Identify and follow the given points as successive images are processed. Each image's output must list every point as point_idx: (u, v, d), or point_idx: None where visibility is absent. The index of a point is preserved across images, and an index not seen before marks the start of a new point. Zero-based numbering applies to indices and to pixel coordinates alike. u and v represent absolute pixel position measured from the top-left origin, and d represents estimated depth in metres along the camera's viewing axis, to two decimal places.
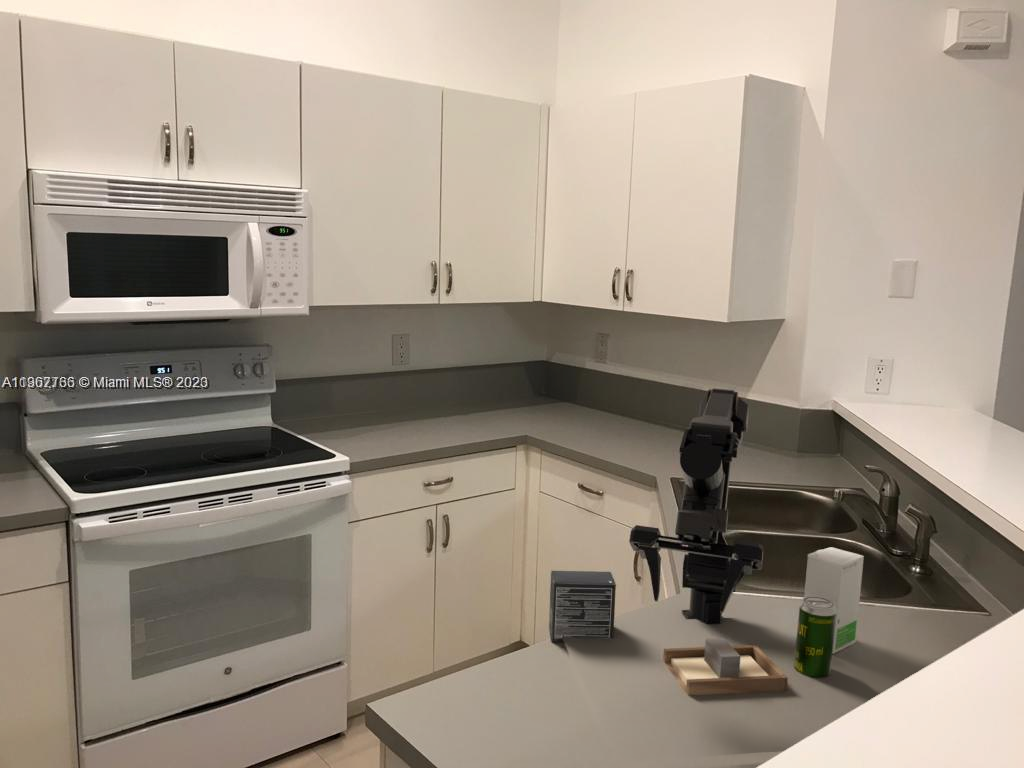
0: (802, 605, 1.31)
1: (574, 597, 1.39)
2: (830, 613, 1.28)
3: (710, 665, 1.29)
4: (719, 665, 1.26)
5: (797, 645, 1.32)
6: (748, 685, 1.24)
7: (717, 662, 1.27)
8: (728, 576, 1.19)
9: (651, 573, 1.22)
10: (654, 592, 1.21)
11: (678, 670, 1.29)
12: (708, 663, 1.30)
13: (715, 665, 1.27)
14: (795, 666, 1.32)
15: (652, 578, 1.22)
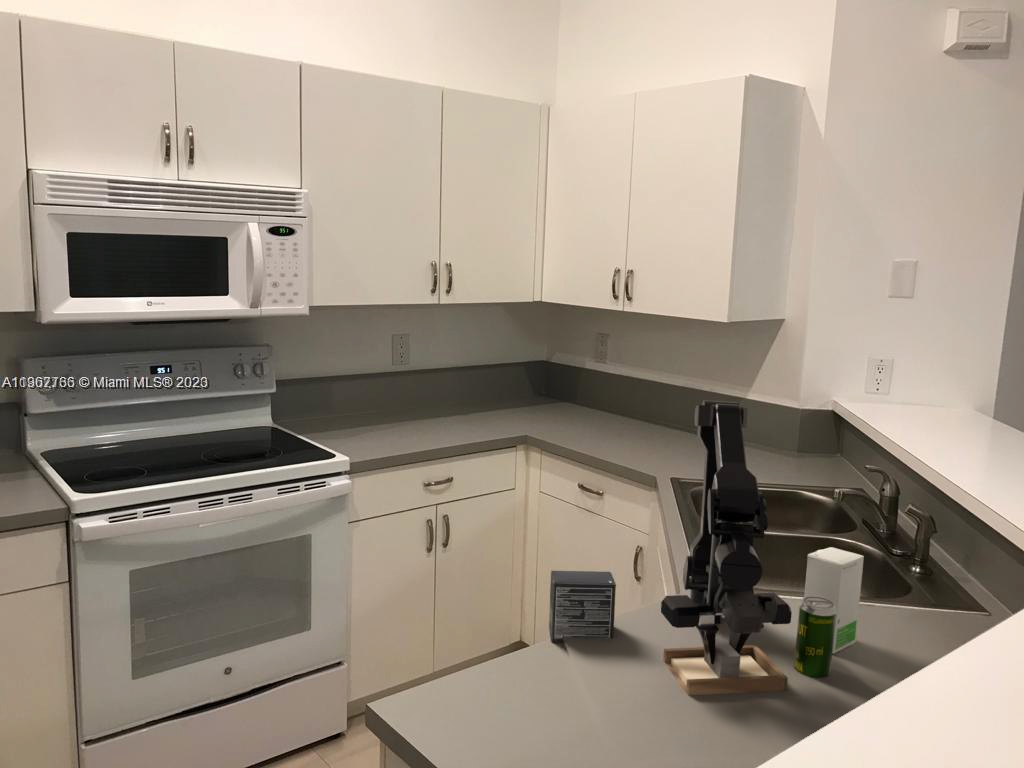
0: (802, 605, 1.31)
1: (574, 597, 1.39)
2: (830, 613, 1.28)
3: (710, 665, 1.29)
4: (719, 665, 1.26)
5: (797, 645, 1.32)
6: (748, 685, 1.24)
7: (717, 662, 1.27)
8: (741, 636, 1.27)
9: (709, 644, 1.27)
10: (711, 659, 1.28)
11: (678, 670, 1.29)
12: (708, 663, 1.30)
13: (715, 665, 1.27)
14: (795, 666, 1.32)
15: (710, 648, 1.27)
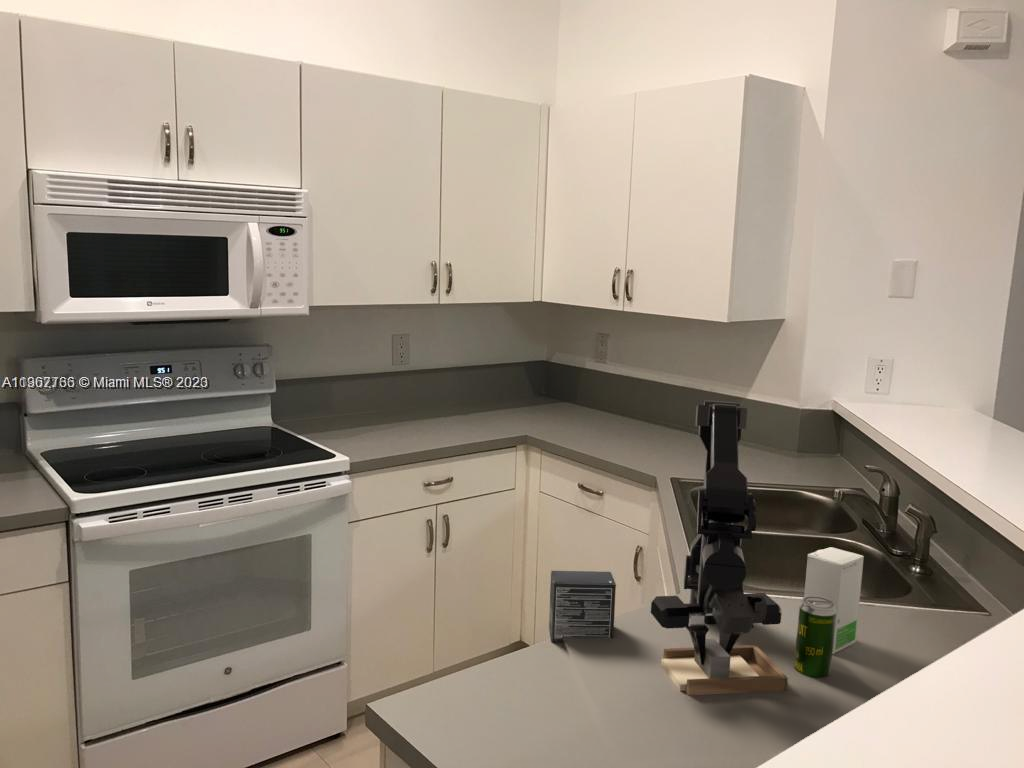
0: (802, 605, 1.31)
1: (574, 597, 1.39)
2: (830, 613, 1.28)
3: (700, 666, 1.29)
4: (709, 665, 1.26)
5: (797, 645, 1.32)
6: (748, 685, 1.24)
7: (707, 662, 1.26)
8: (731, 637, 1.27)
9: (699, 645, 1.26)
10: (701, 659, 1.27)
11: (668, 671, 1.28)
12: (698, 663, 1.30)
13: (705, 665, 1.27)
14: (795, 666, 1.32)
15: (700, 649, 1.27)
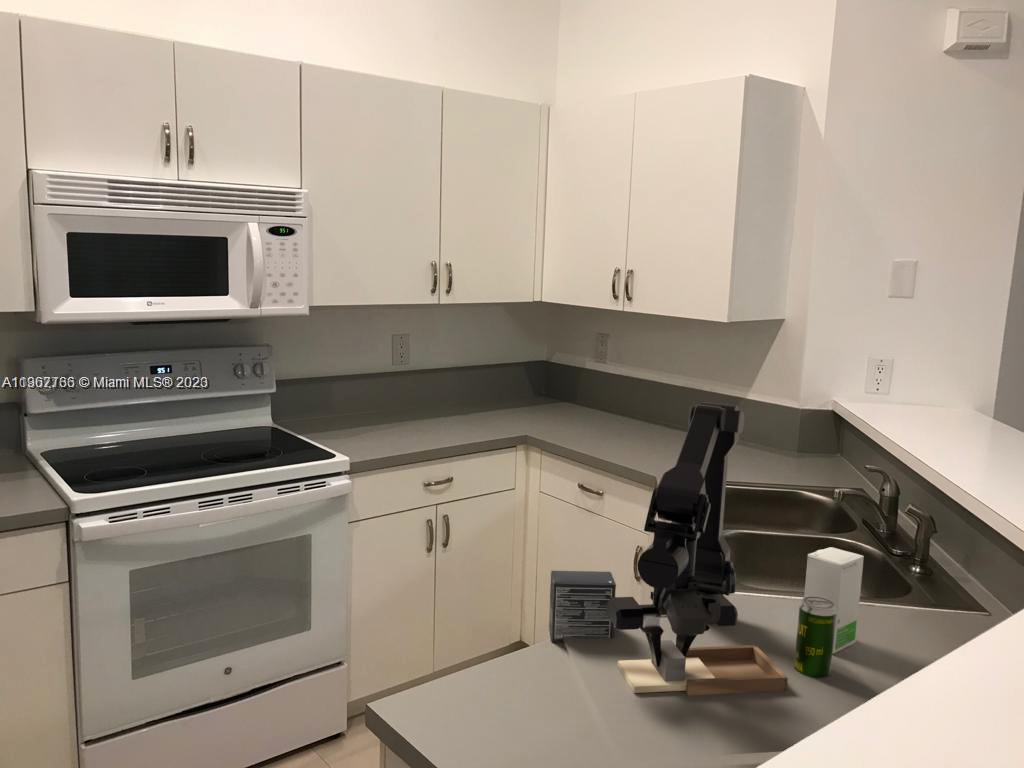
0: (802, 605, 1.31)
1: (574, 597, 1.39)
2: (830, 613, 1.28)
3: (656, 668, 1.27)
4: (664, 667, 1.24)
5: (797, 645, 1.32)
6: (748, 685, 1.24)
7: (662, 664, 1.25)
8: (687, 638, 1.25)
9: (654, 647, 1.25)
10: (657, 661, 1.26)
11: (624, 673, 1.27)
12: (655, 665, 1.28)
13: (661, 667, 1.26)
14: (795, 666, 1.32)
15: (655, 650, 1.25)
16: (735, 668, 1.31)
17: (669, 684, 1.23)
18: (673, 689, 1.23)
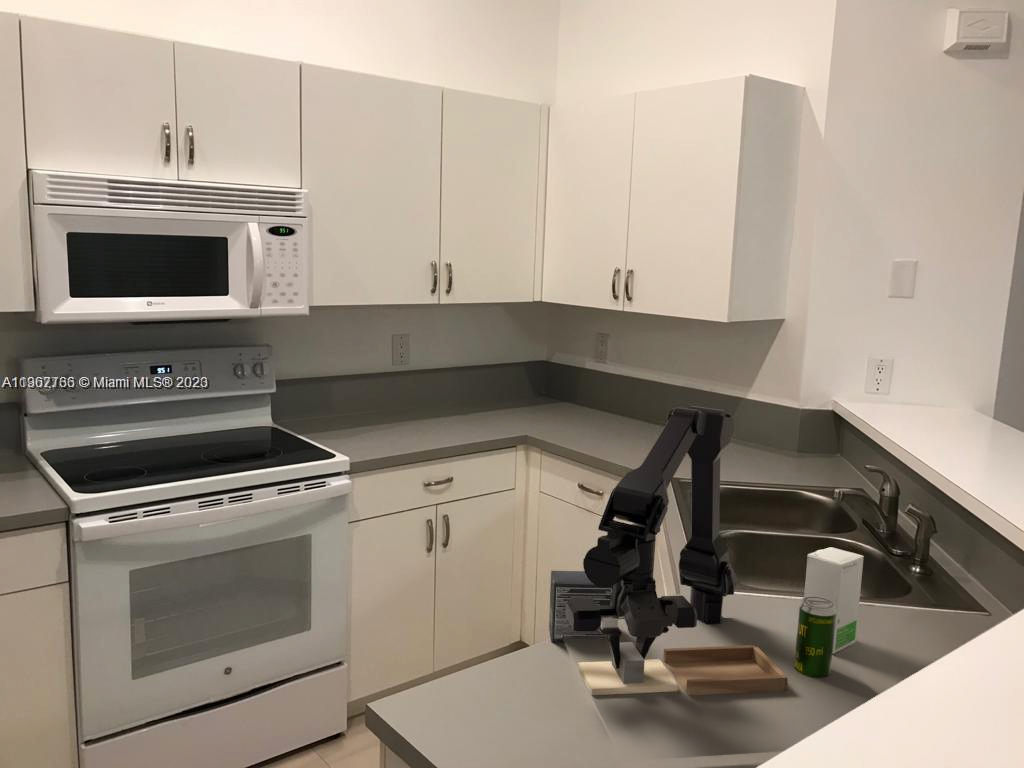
0: (802, 605, 1.31)
1: (574, 597, 1.39)
2: (830, 613, 1.28)
3: (616, 670, 1.26)
4: (623, 669, 1.23)
5: (797, 645, 1.32)
6: (748, 685, 1.24)
7: (621, 666, 1.24)
8: (646, 640, 1.24)
9: (613, 648, 1.24)
10: (616, 663, 1.25)
11: (583, 675, 1.26)
12: None
13: (620, 669, 1.25)
14: (795, 666, 1.32)
15: (614, 652, 1.24)
16: (735, 668, 1.31)
17: (627, 686, 1.22)
18: (631, 691, 1.22)
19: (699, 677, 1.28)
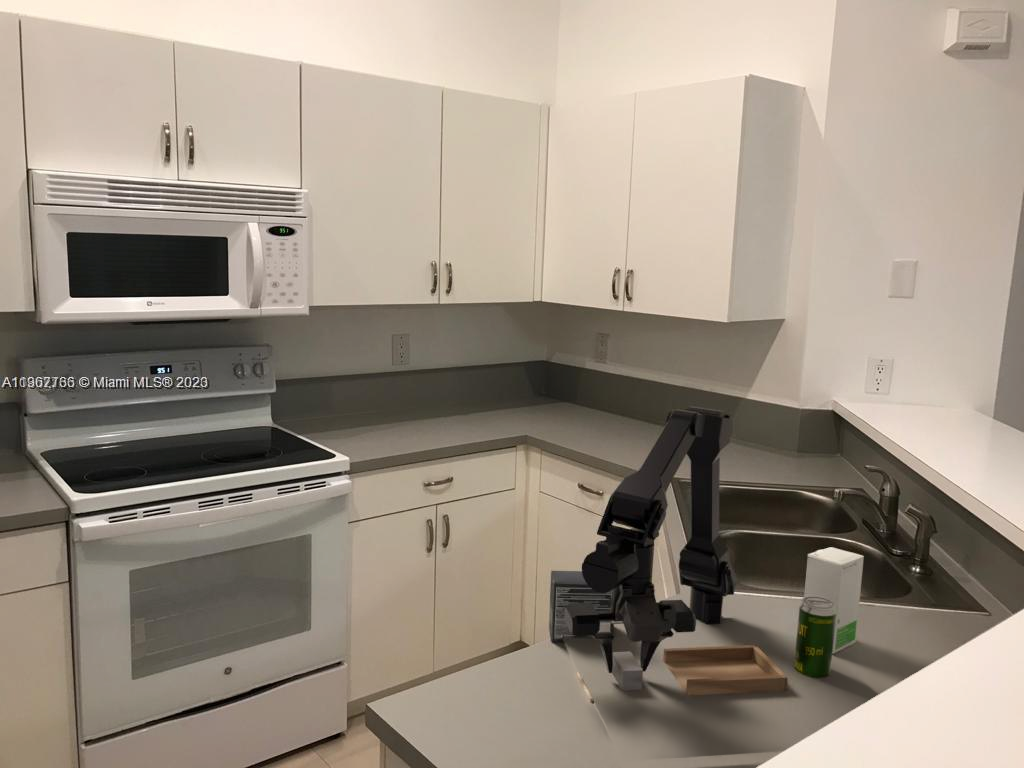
0: (802, 605, 1.31)
1: (574, 597, 1.39)
2: (830, 613, 1.28)
3: None
4: (621, 679, 1.24)
5: (797, 645, 1.32)
6: (748, 685, 1.24)
7: (620, 676, 1.24)
8: (650, 644, 1.25)
9: (606, 653, 1.24)
10: (609, 667, 1.25)
11: (582, 685, 1.26)
12: None
13: (618, 679, 1.25)
14: (795, 666, 1.32)
15: (607, 657, 1.24)
16: (735, 668, 1.31)
17: None
18: None
19: (699, 677, 1.28)
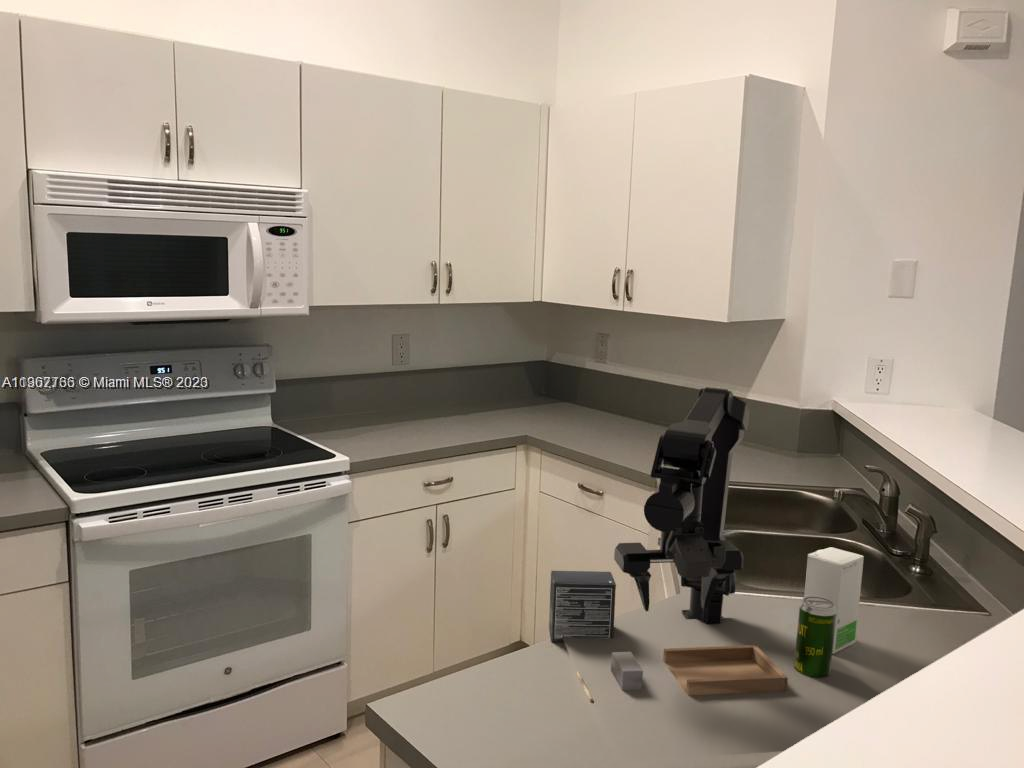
0: (802, 605, 1.31)
1: (574, 597, 1.39)
2: (830, 613, 1.28)
3: None
4: (621, 680, 1.24)
5: (797, 645, 1.32)
6: (748, 685, 1.24)
7: (619, 676, 1.24)
8: (712, 582, 1.28)
9: (643, 591, 1.27)
10: (646, 606, 1.28)
11: None
12: None
13: (618, 679, 1.25)
14: (795, 666, 1.32)
15: (644, 595, 1.27)
16: (735, 668, 1.31)
17: None
18: None
19: (699, 677, 1.28)
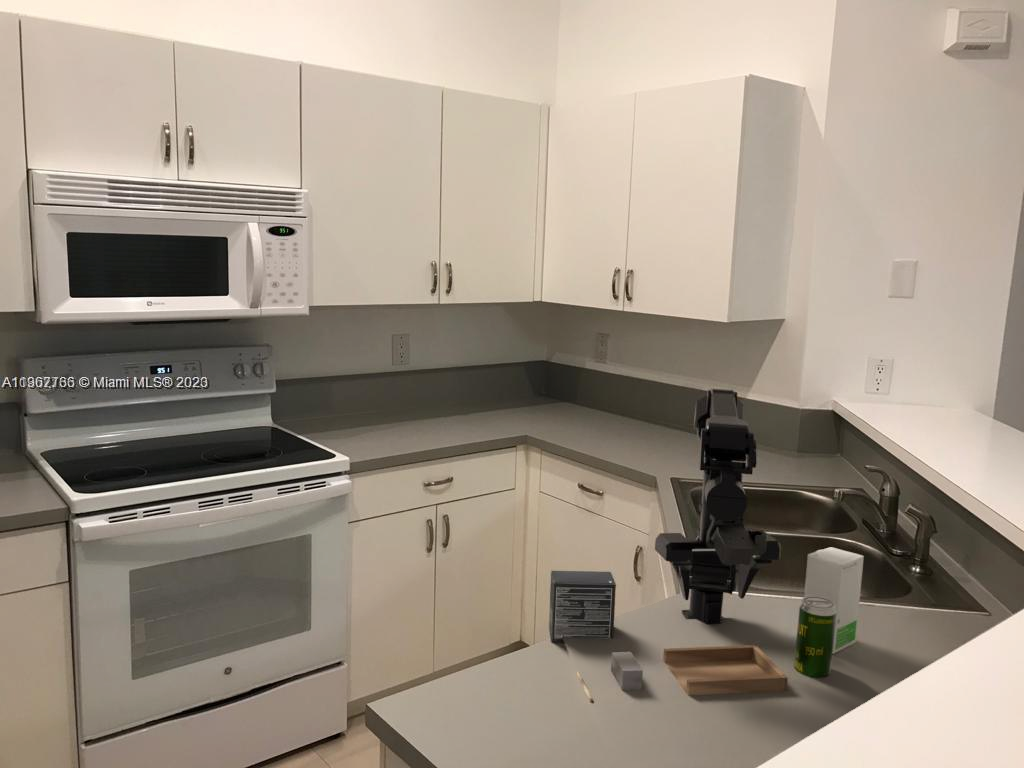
0: (802, 605, 1.31)
1: (574, 597, 1.39)
2: (830, 613, 1.28)
3: None
4: (621, 679, 1.24)
5: (797, 645, 1.32)
6: (748, 685, 1.24)
7: (619, 676, 1.24)
8: (750, 571, 1.32)
9: (683, 580, 1.30)
10: (686, 594, 1.31)
11: None
12: None
13: (618, 679, 1.25)
14: (795, 666, 1.32)
15: (684, 584, 1.31)
16: (735, 668, 1.31)
17: None
18: None
19: (699, 677, 1.28)
